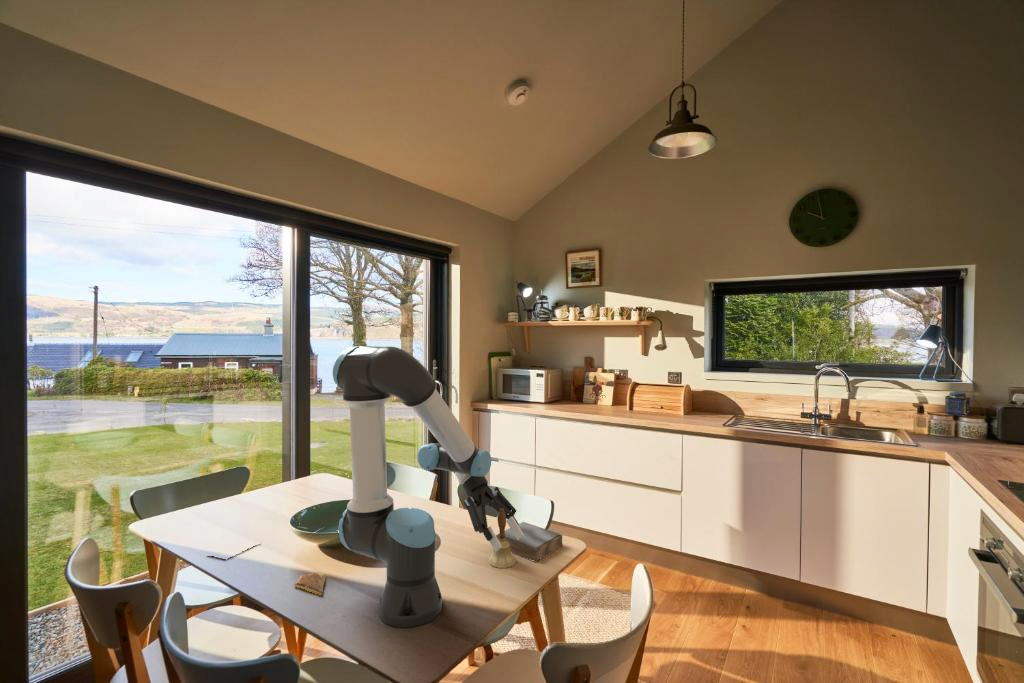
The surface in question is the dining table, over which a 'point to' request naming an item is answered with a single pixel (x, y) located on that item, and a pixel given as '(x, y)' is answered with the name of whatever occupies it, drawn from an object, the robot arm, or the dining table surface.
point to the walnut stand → (533, 541)
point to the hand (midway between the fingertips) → (510, 543)
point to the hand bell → (503, 555)
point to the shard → (312, 582)
